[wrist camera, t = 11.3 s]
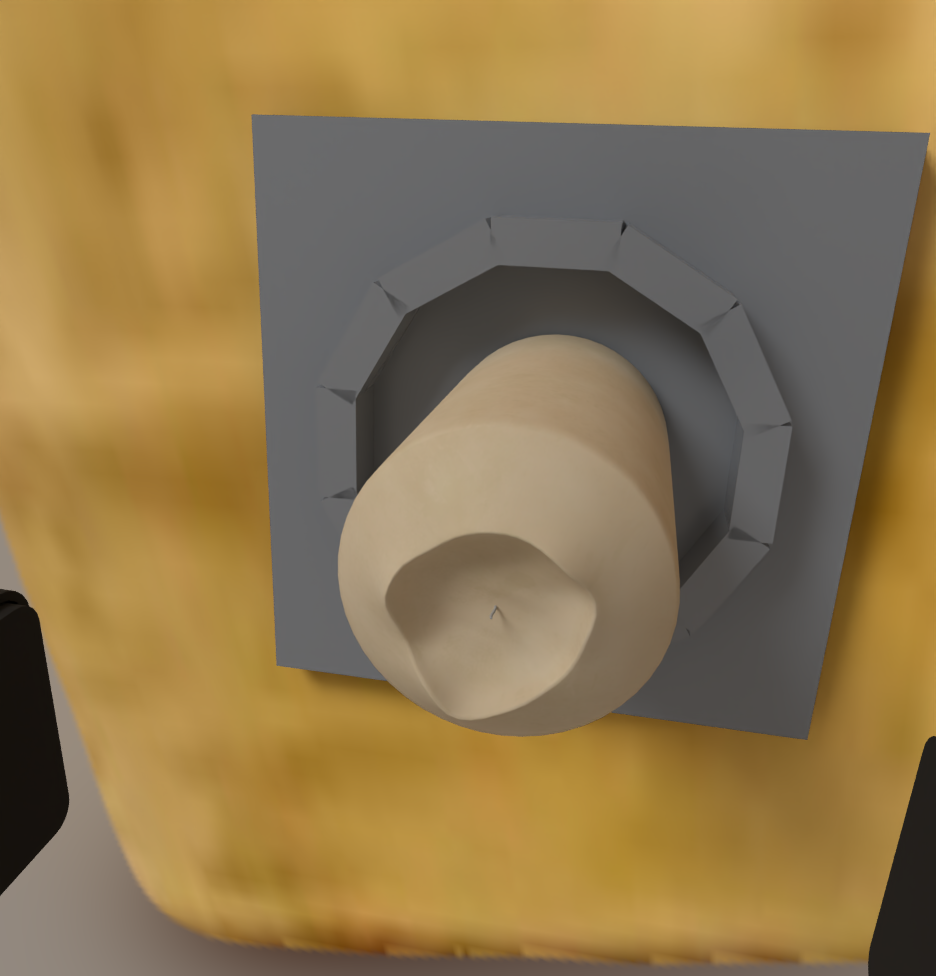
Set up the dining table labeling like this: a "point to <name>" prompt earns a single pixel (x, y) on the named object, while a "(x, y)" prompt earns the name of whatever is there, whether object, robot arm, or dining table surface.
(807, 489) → the candle dish
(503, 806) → the dining table surface
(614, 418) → the candle
